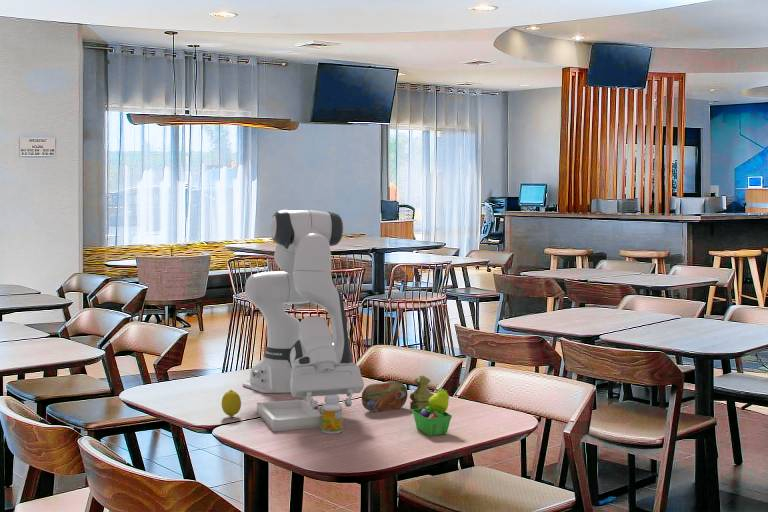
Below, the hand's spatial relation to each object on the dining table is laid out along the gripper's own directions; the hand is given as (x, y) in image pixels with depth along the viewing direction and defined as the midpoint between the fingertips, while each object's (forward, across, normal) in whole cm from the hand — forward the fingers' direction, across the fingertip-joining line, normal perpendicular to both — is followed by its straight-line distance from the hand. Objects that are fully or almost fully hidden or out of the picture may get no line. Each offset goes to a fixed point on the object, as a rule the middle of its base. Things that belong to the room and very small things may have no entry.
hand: (332, 406), depth 248 cm
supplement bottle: (+5, 0, -5) cm, 7 cm away
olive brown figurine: (-6, -32, -16) cm, 37 cm away
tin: (-9, -22, -18) cm, 30 cm away
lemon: (-13, +23, -23) cm, 35 cm away
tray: (-7, +8, -17) cm, 20 cm away
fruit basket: (+11, -26, +1) cm, 28 cm away
